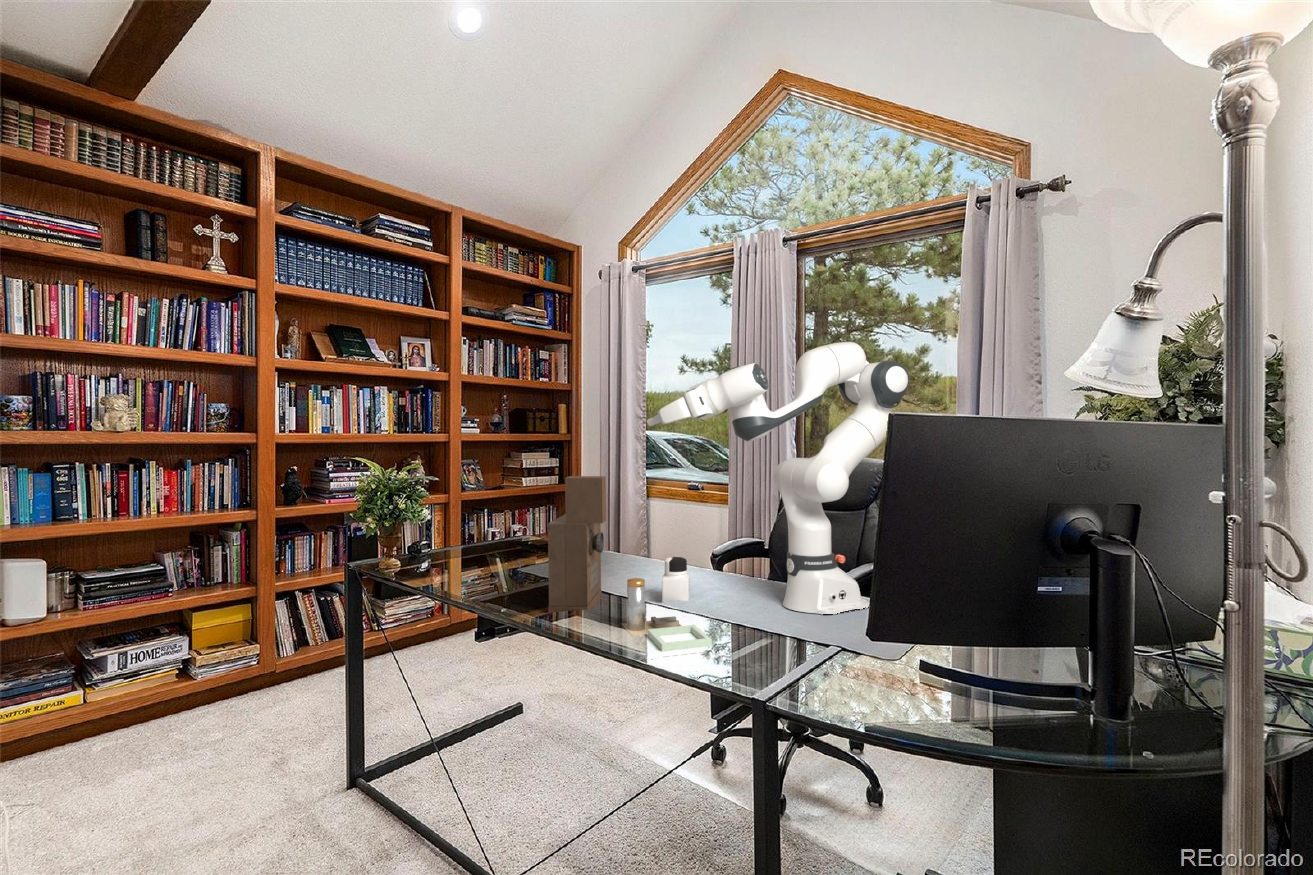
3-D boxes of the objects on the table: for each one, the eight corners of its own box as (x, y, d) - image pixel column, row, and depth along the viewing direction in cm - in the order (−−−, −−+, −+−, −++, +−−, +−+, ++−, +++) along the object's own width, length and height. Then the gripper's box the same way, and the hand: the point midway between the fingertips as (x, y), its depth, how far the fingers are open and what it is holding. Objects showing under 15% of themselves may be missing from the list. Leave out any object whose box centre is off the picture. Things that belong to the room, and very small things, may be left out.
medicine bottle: (689, 598, 184) (689, 555, 183) (688, 605, 176) (688, 560, 176) (664, 598, 184) (663, 555, 184) (662, 605, 177) (661, 560, 177)
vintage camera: (603, 614, 168) (601, 477, 168) (548, 613, 170) (546, 478, 169) (615, 596, 187) (613, 472, 187) (566, 595, 189) (564, 473, 188)
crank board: (673, 623, 160) (673, 611, 160) (686, 635, 151) (686, 622, 151) (621, 628, 157) (620, 615, 156) (631, 641, 147) (631, 627, 147)
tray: (694, 636, 150) (694, 624, 150) (711, 651, 140) (711, 639, 140) (647, 641, 147) (647, 629, 147) (662, 657, 136) (662, 644, 136)
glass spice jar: (642, 625, 155) (642, 577, 155) (647, 630, 151) (646, 581, 151) (626, 626, 154) (625, 578, 154) (630, 631, 150) (629, 582, 150)
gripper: (708, 387, 173) (662, 406, 178) (687, 391, 154) (636, 413, 158) (717, 409, 173) (670, 428, 178) (697, 416, 154) (646, 437, 158)
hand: (654, 421), depth 168 cm, fingers open, 8 cm apart
